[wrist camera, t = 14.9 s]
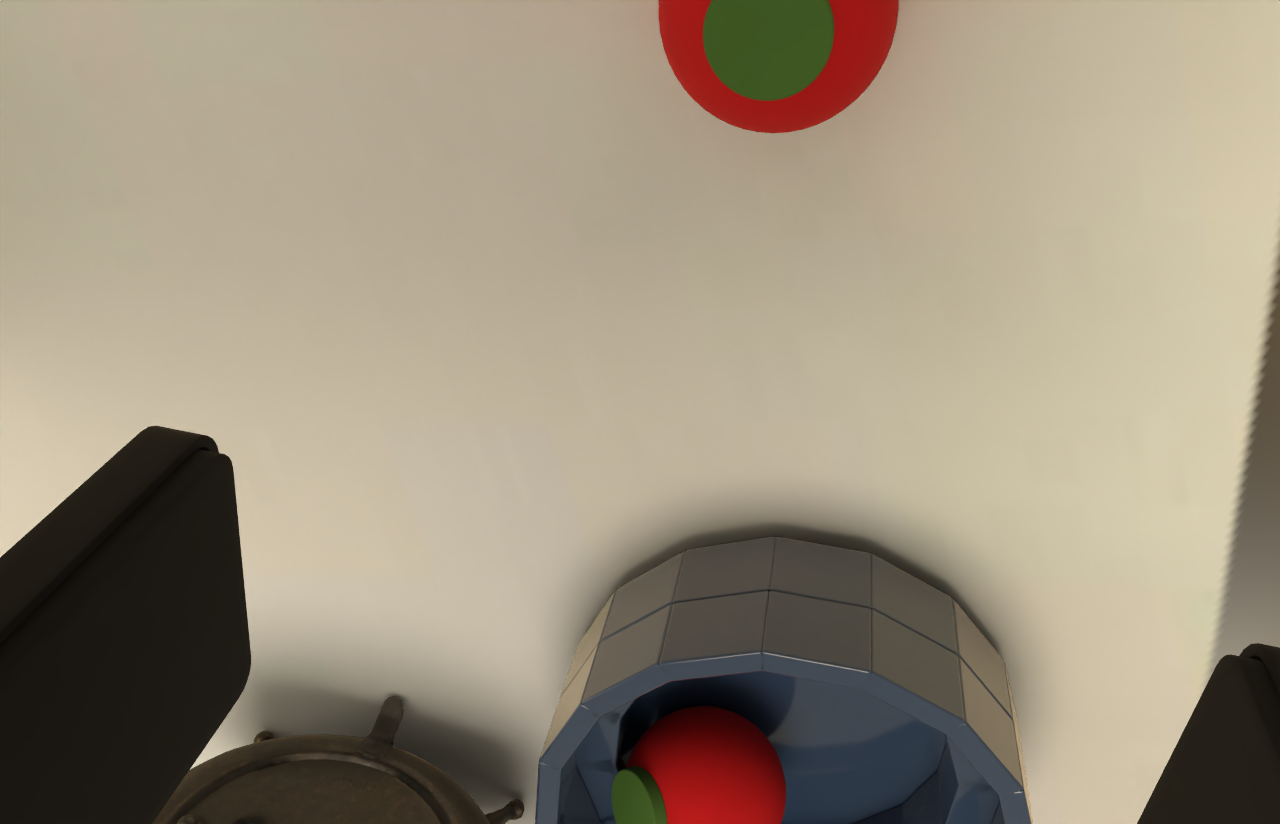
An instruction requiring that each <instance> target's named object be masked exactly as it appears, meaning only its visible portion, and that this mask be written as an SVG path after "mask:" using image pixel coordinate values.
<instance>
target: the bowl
mask: <svg viewBox="0 0 1280 824" xmlns="http://www.w3.org/2000/svg"><path fill="white" fill-rule="evenodd" d="M696 706H710V707H717V708H722V709H725V710H728V711H731V712H734V713H736V714H738V715H740V716H742V717H744V718H746V719H747V720H749V721H750V722H751V723H752V724H754V725H755V726H756V727H757V728H758V729H759V730H761V731H762V733H763V734H764V735H765V736H766V737H767V739H768V740H769V741H770V743H771V744H772V746H773V747H774V749H775V751H776V753H777V755H778V757H779V759H780V762H781V765H782V768H783V772H784V776H785V782H786V804H785V811H784V815H783V819H782V822H781V824H1033V817H1032V811H1031V804H1030V798H1029V792H1028V786H1027V779H1026V773H1025V766H1024V760H1023V754H1022V747H1021V741H1020V735H1019V728H1018V723H1017V718H1016V713H1015V709H1014V704H1013V699H1012V694H1011V689H1010V684H1009V679H1008V674H1007V670H1006V665H1005V663H1004V661H1003V659H1002V657H1001V656H1000V655H999V654H998V653H997V651H996V650H995V649H994V648H993V646H992V645H991V644H990V643H989V642H988V640H987V639H986V638H985V637H984V636H983V634H982V633H981V632H980V631H979V629H978V628H977V627H976V626H975V625H974V623H973V622H972V621H971V620H970V618H969V617H968V616H967V615H966V614H965V612H964V611H963V610H962V609H961V607H960V606H959V605H958V604H957V603H956V601H955V600H954V599H952V598H951V597H950V596H949V595H947V594H945V593H943V592H941V591H940V590H938V589H936V588H934V587H932V586H930V585H929V584H927V583H925V582H923V581H921V580H920V579H918V578H916V577H914V576H912V575H910V574H909V573H907V572H905V571H903V570H901V569H899V568H898V567H896V566H894V565H892V564H890V563H888V562H887V561H885V560H883V559H881V558H879V557H877V556H876V555H874V554H870V553H869V552H863V551H857V550H852V549H846V548H840V547H835V546H829V545H823V544H818V543H812V542H806V541H801V540H795V539H789V538H784V537H775V536H773V537H766V538H759V539H752V540H746V541H739V542H732V543H726V544H719V545H712V546H705V547H699V548H692V549H687V550H686V551H683V552H681V553H679V554H678V555H676V556H674V557H672V558H670V559H669V560H667V561H665V562H663V563H662V564H660V565H658V566H656V567H655V568H653V569H651V570H649V571H648V572H646V573H644V574H642V575H640V576H639V577H637V578H635V579H633V580H632V581H630V582H628V583H626V584H625V585H623V586H621V587H619V588H618V589H617V590H616V591H615V592H614V593H613V594H612V596H611V597H610V598H609V600H608V601H607V603H606V604H605V606H604V607H603V609H602V610H601V612H600V613H599V615H598V616H597V617H596V619H595V620H594V622H593V623H592V625H591V626H590V628H589V629H588V631H587V632H586V633H585V635H584V636H583V638H582V639H581V641H580V642H579V644H578V646H577V648H576V651H575V654H574V657H573V660H572V663H571V666H570V669H569V672H568V675H567V678H566V681H565V684H564V687H563V690H562V693H561V696H560V699H559V702H558V705H557V708H556V711H555V714H554V717H553V720H552V723H551V726H550V729H549V732H548V735H547V738H546V741H545V744H544V747H543V750H542V753H541V756H540V759H539V765H538V782H537V800H536V817H535V824H616V821H615V817H614V813H613V807H612V795H611V793H612V784H613V780H614V777H615V776H616V774H617V773H618V772H619V771H620V770H622V769H625V768H626V767H627V764H628V760H629V758H630V755H631V753H632V751H633V749H634V747H635V746H636V744H637V742H638V741H639V740H640V738H641V737H642V736H643V734H644V733H645V732H646V731H647V730H648V729H649V728H650V727H651V726H652V725H653V724H655V723H656V722H657V721H659V720H660V719H661V718H663V717H665V716H667V715H669V714H671V713H673V712H675V711H678V710H681V709H684V708H690V707H696Z"/></svg>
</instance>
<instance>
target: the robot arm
mask: <svg viewBox="0 0 1280 824" xmlns="http://www.w3.org/2000/svg"><path fill="white" fill-rule="evenodd" d="M250 666H251V652H250V641H249V631H248V620H247V610H246V599H245V589H244V578H243V568H242V557H241V547H240V536H239V526H238V515H237V505H236V494H235V483H234V473H233V466H232V462H231V460H230V458H229V457H228V456H226V455H225V454H220V453H219V452H218V447H217V445H216V443H215V441H214V440H213V439H212V438H210V437H208V436H205V435H200V434H195V433H190V432H185V431H180V430H175V429H170V428H165V427H160V426H150V427H148V428H146V429H144V430H143V431H141V432H140V433H139V434H138V435H137V436H136V437H134V438H133V439H132V440H131V441H130V442H129V443H128V444H127V445H126V446H124V447H123V448H122V449H121V450H120V451H119V452H118V453H117V454H115V455H114V456H113V457H112V458H111V459H110V460H109V461H108V462H107V463H105V464H104V465H103V466H102V467H101V468H100V469H99V470H98V471H97V472H95V473H94V474H93V475H92V476H91V477H90V478H89V479H88V480H86V481H85V482H84V483H83V484H82V485H81V486H80V487H79V488H78V489H76V490H75V491H74V492H73V493H72V494H71V495H70V496H69V497H67V498H66V499H65V500H64V501H63V502H62V503H61V504H60V505H59V506H57V507H56V508H55V509H54V510H53V511H52V512H51V513H50V514H49V515H47V516H46V517H45V518H44V519H43V520H42V521H41V522H40V523H38V524H37V525H36V526H35V527H34V528H33V529H32V530H31V531H30V532H28V533H27V534H26V535H25V536H24V537H23V538H22V539H21V540H19V541H18V542H17V543H16V544H15V545H14V546H13V547H12V548H11V549H9V550H8V551H7V552H6V553H5V554H4V555H3V556H2V557H1V558H0V824H152V823H153V822H154V820H155V819H156V818H157V816H158V815H159V813H160V812H161V810H162V809H163V807H164V806H165V805H166V803H167V802H168V800H169V799H170V797H171V796H172V794H173V793H174V791H175V790H176V789H177V787H178V786H179V784H180V783H181V781H182V780H183V778H184V777H185V775H186V774H187V773H188V771H189V770H190V768H191V767H192V765H193V764H194V762H195V761H196V759H197V758H198V757H199V755H200V754H201V752H202V751H203V749H204V748H205V746H206V745H207V743H208V742H209V741H210V739H211V738H212V736H213V735H214V733H215V732H216V730H217V729H218V728H219V726H220V725H221V723H222V722H223V720H224V719H225V717H226V716H227V714H228V713H229V712H230V710H231V709H232V707H233V706H234V704H235V703H236V701H237V700H238V698H239V697H240V695H241V693H242V692H243V690H244V687H245V685H246V683H247V680H248V676H249V673H250ZM1137 824H1280V648H1279V647H1273V646H1268V645H1264V644H1259V643H1258V644H1251V645H1249V646H1248V647H1247V648H1245V649H1244V650H1243V652H1242V653H1241V654H1240V656H1235V655H1226V656H1224V657H1223V658H1222V659H1221V660H1220V661H1219V663H1218V664H1217V666H1216V668H1215V670H1214V672H1213V674H1212V676H1211V678H1210V680H1209V682H1208V684H1207V686H1206V688H1205V689H1204V691H1203V693H1202V695H1201V697H1200V699H1199V701H1198V703H1197V705H1196V707H1195V709H1194V711H1193V713H1192V715H1191V717H1190V719H1189V721H1188V723H1187V725H1186V727H1185V729H1184V731H1183V733H1182V735H1181V737H1180V739H1179V741H1178V743H1177V745H1176V747H1175V749H1174V751H1173V753H1172V755H1171V757H1170V759H1169V761H1168V763H1167V765H1166V767H1165V769H1164V771H1163V773H1162V775H1161V777H1160V779H1159V781H1158V783H1157V785H1156V787H1155V789H1154V791H1153V793H1152V795H1151V797H1150V799H1149V801H1148V803H1147V805H1146V807H1145V809H1144V811H1143V813H1142V815H1141V817H1140V819H1139V821H1138V823H1137Z"/></svg>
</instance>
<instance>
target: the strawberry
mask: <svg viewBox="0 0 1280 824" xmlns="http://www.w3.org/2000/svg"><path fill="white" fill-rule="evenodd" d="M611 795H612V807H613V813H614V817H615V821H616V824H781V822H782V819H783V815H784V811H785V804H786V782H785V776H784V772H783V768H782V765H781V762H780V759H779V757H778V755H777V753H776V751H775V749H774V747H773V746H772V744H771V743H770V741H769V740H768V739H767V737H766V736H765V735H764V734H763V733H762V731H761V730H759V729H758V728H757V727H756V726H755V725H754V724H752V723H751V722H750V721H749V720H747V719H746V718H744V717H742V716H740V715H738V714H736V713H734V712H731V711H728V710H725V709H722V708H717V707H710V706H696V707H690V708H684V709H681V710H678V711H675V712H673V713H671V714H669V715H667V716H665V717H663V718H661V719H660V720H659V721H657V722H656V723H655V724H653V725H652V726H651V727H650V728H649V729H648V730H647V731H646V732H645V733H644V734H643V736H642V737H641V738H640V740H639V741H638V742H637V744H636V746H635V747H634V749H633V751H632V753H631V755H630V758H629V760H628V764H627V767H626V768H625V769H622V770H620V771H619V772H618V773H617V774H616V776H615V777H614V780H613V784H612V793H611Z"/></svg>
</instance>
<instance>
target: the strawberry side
mask: <svg viewBox="0 0 1280 824" xmlns="http://www.w3.org/2000/svg"><path fill="white" fill-rule="evenodd" d="M898 9H899V0H659V25H660V33H661V38H662V42H663V47H664V50H665V53H666V56H667V59H668V61H669V64H670V66H671V68H672V70H673V72H674V74H675V76H676V77H677V79H678V80H679V82H680V83H681V85H682V86H683V88H684V89H685V90H686V91H687V93H688V94H689V95H690V96H691V97H692V98H693V99H694V100H695V101H696V102H697V103H698V104H699V105H700V106H701V107H703V108H704V109H705V110H706V111H708V112H709V113H711V114H712V115H714V116H715V117H717V118H718V119H720V120H722V121H725V122H727V123H729V124H731V125H734V126H736V127H739V128H742V129H746V130H751V131H756V132H765V133H783V132H792V131H797V130H802V129H805V128H808V127H811V126H814V125H817V124H819V123H821V122H824V121H826V120H828V119H830V118H831V117H833V116H835V115H836V114H838V113H839V112H841V111H842V110H844V109H845V108H846V107H848V106H849V105H850V104H851V103H852V102H854V101H855V100H856V99H857V98H858V97H859V96H860V95H861V94H862V93H863V92H864V91H865V90H866V89H867V88H868V86H869V85H870V84H871V82H872V81H873V79H874V78H875V77H876V75H877V74H878V72H879V70H880V69H881V67H882V65H883V63H884V61H885V59H886V57H887V54H888V52H889V49H890V47H891V44H892V41H893V37H894V33H895V29H896V25H897V17H898Z"/></svg>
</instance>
